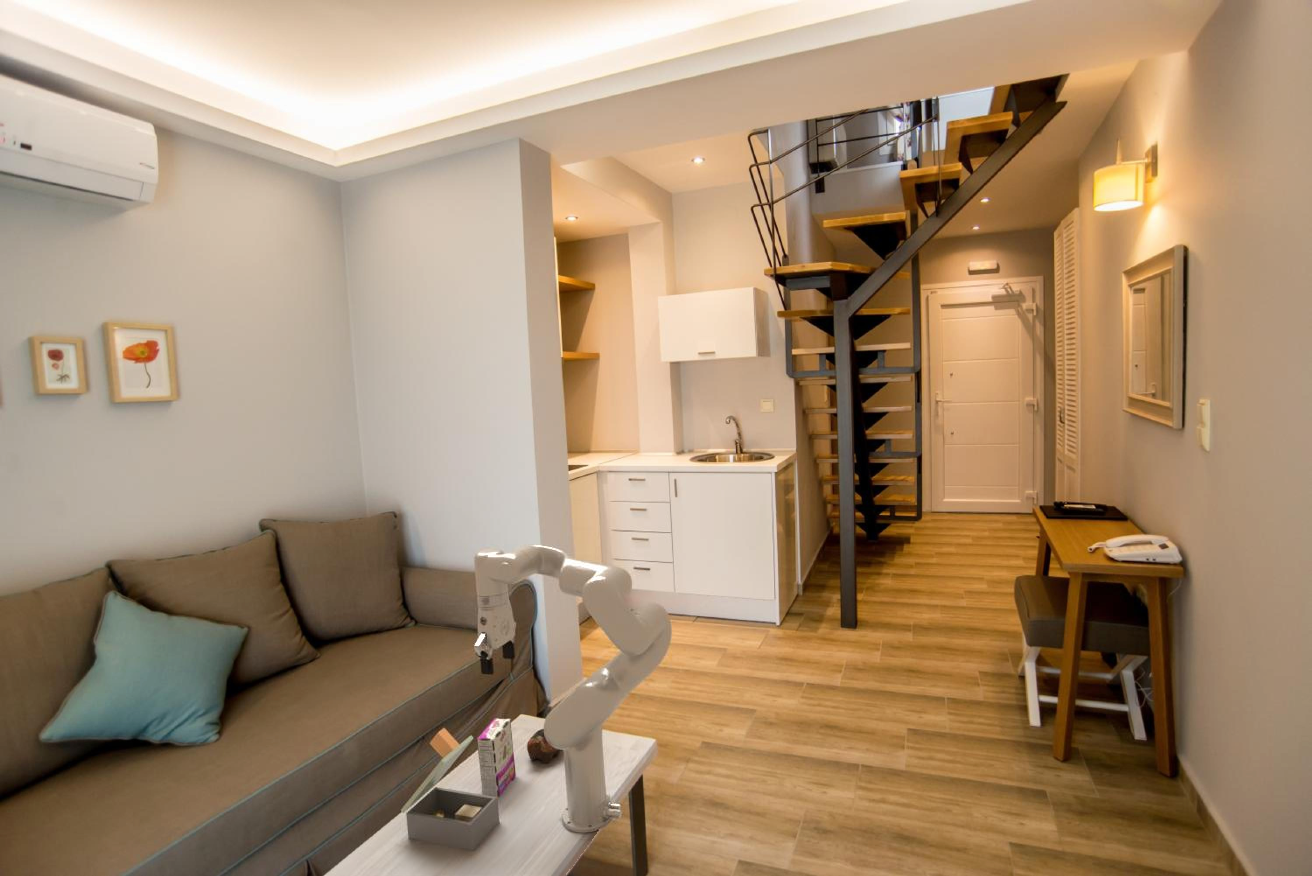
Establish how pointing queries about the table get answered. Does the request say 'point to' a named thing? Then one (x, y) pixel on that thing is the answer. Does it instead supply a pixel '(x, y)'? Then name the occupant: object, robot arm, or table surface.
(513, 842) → the table surface
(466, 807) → the birch block
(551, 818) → the table surface
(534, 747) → the decorative turtle
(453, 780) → the table surface
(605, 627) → the robot arm
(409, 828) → the parts tub
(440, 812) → the brass cylinder
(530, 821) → the table surface
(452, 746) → the lid
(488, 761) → the candy bar box
